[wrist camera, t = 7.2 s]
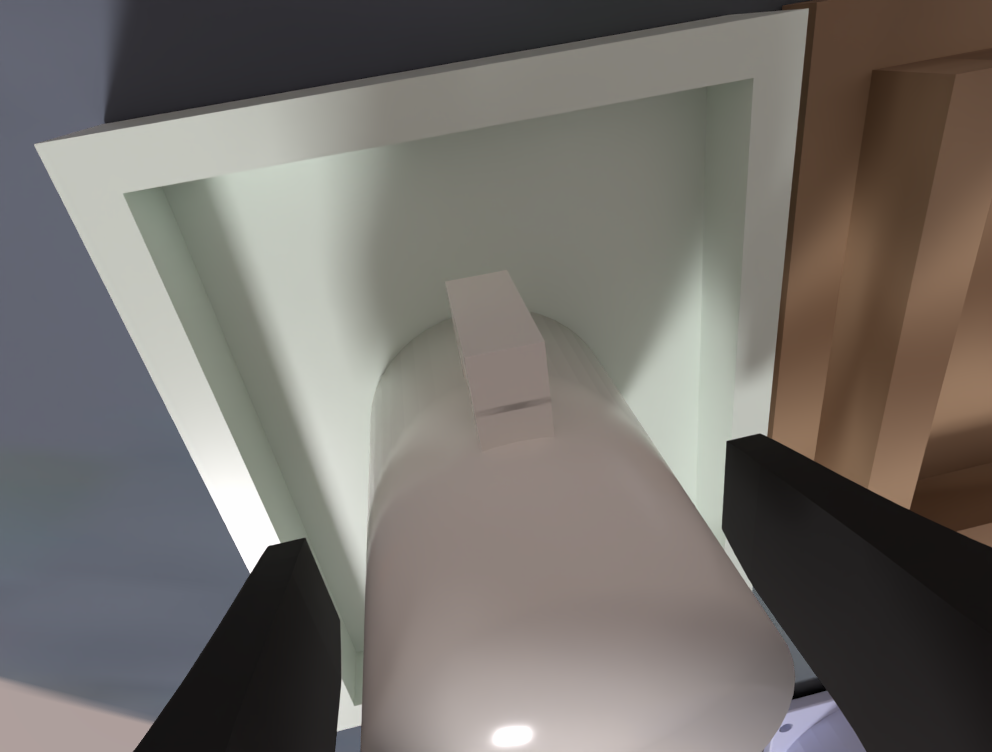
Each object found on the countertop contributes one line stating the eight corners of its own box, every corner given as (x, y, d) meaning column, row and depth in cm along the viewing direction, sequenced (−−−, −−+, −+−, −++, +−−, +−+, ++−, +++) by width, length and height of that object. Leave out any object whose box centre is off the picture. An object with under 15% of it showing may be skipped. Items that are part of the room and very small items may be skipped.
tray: (707, 562, 18) (748, 626, 16) (336, 652, 17) (330, 732, 15) (730, 14, 11) (808, 8, 9) (102, 124, 10) (34, 144, 8)
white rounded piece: (612, 484, 15) (772, 798, 9) (399, 531, 14) (412, 893, 8) (599, 216, 11) (847, 425, 5) (321, 267, 11) (247, 555, 5)
